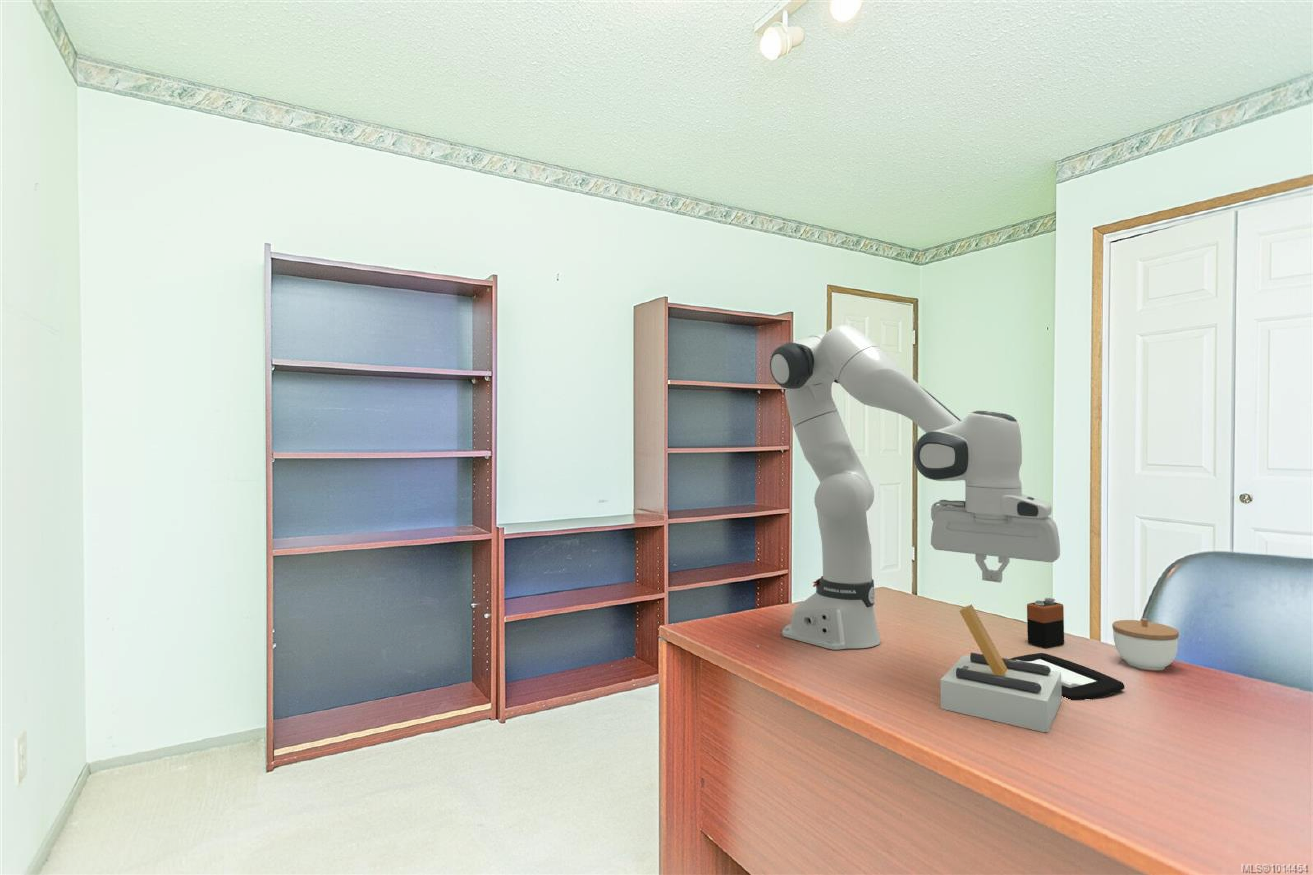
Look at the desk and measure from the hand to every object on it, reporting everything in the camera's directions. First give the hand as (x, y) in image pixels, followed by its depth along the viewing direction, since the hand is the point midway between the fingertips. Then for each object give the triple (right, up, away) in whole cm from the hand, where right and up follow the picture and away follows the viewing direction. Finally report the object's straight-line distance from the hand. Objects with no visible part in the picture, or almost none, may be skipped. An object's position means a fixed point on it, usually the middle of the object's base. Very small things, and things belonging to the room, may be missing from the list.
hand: (992, 581), depth 114 cm
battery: (+28, -21, +31) cm, 47 cm away
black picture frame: (+18, -22, +10) cm, 30 cm away
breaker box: (+1, -21, -1) cm, 21 cm away
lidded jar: (+40, -21, +17) cm, 48 cm away
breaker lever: (+1, -16, -1) cm, 16 cm away
